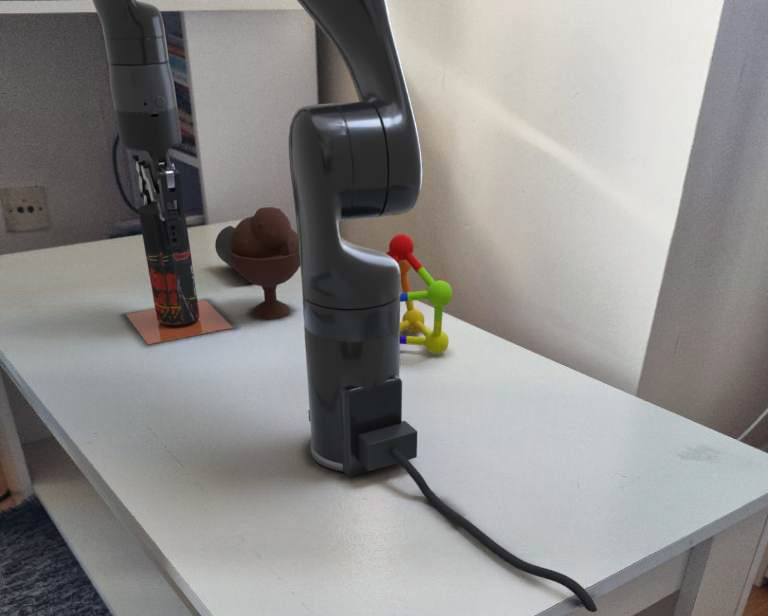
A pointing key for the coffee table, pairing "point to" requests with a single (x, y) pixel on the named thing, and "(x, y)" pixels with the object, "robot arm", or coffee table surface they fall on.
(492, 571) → the coffee table surface
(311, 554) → the coffee table surface
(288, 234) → the ice cream bowl
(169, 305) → the deodorant
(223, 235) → the end cap
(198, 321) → the tile
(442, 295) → the educational toy
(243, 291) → the coffee table surface
